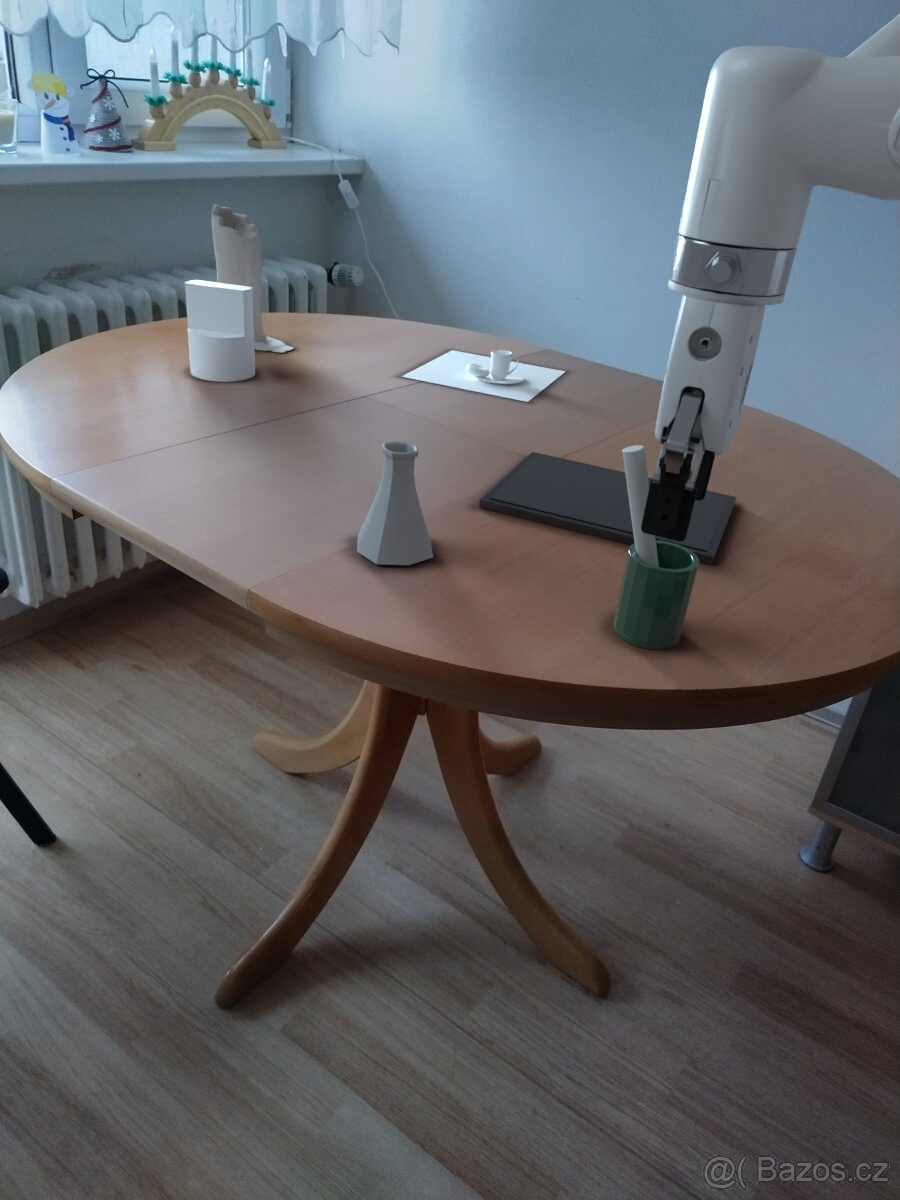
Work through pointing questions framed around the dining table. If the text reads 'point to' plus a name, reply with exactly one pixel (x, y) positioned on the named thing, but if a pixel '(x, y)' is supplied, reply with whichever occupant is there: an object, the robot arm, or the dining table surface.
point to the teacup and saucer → (487, 374)
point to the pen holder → (655, 596)
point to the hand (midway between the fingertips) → (674, 513)
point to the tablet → (596, 503)
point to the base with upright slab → (220, 331)
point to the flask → (396, 513)
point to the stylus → (639, 501)
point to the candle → (242, 265)
